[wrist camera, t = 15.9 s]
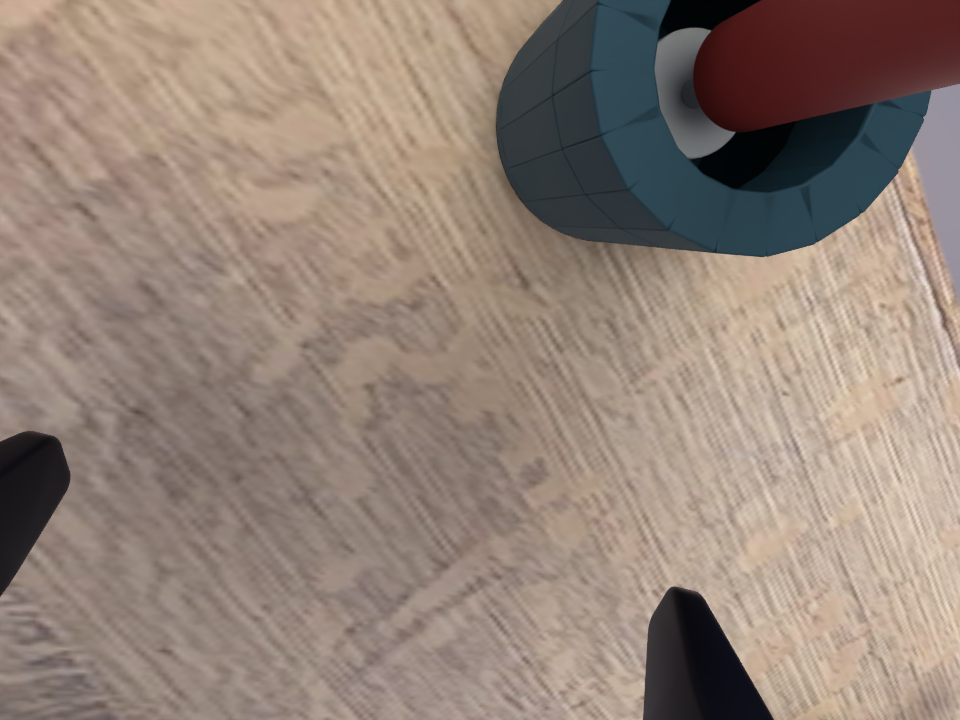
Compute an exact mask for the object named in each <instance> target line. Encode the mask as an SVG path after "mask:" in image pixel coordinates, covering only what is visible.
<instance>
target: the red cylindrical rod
mask: <svg viewBox="0 0 960 720" xmlns="http://www.w3.org/2000/svg"><path fill="white" fill-rule="evenodd" d="M654 70H655V77H656V84H657V91H658V97H659V104H660V110H661V112H662V114H663V116H664V119H665V121H666V123H667V125H668V127H669V129H670V131H671V134H672V136H673V138H674V140H675V142H676V144H677V146H678V148H679V149H680V150H681V151H682V152H683V153H684V154H685V155H686V157H687V158H688V159H689V160H690V159H695V158H701V157H704V156H707V155H710V154H711V153H713V152H715V151H717V150H718V149H720V148H721V147H723V146H724V145H725V144H726V143H727V142H728V141H729V140H730V139H731V138H732V137H733V135H734V134H735V132H749V131H754V130H758V129H763V128H767V127H772V126H776V125H780V124H785V123H789V122H794V121H798V120H802V119H807V118H811V117H816V116H820V115H824V114H829V113H833V112H838V111H842V110H846V109H851V108H855V107H859V106H864V105H868V104H873V103H877V102H881V101H886V100H890V99H895V98H899V97H903V96H908V95H912V94H917V93H921V92H925V91H930V90H934V89H939V88H943V87H947V86H951V85H956V84H960V0H761V1H759V2H757V3H756V4H754V5H752V6H750V7H748V8H746V9H745V10H743V11H741V12H739V13H737V14H736V15H734V16H732V17H730V18H728V19H727V20H725V21H723V22H722V23H720V24H719V25H717V26H716V27H715V28H714V29H713V30H712V31H711V30H707V29H704V28H684V29H680V30H677V31H674V32H672V33H670V34H668V35H666V36H664V37H663V38H661V39H659V40H658V44H657V52H656V60H655V67H654Z"/></svg>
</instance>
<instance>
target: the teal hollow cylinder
mask: <svg viewBox="0 0 960 720" xmlns="http://www.w3.org/2000/svg"><path fill="white" fill-rule="evenodd" d="M759 1H761V0H563V1H562V2H561V3H560V4H559V5H558V6H557V7H556V9H555V10H554V11H553V12H552V13H551V14H550V15H549V16H548V17H547V19H546V20H545V21H544V22H543V23H542V24H541V25H540V27H539V28H538V29H537V30H536V31H535V33H534V34H533V35H532V36H531V37H530V38H529V40H528V41H527V42H526V43H525V45H524V46H523V47H522V48H521V50H520V51H519V52H518V54H517V56H516V57H515V59H514V61H513V62H512V64H511V66H510V68H509V70H508V73H507V75H506V77H505V79H504V83H503V86H502V89H501V92H500V97H499V102H498V108H497V122H496V130H497V143H498V148H499V153H500V158H501V161H502V164H503V167H504V170H505V173H506V175H507V177H508V179H509V181H510V183H511V186H512V187H513V189H514V190H515V192H516V194H517V195H518V197H519V198H520V200H521V201H522V202H523V203H524V204H525V206H526V207H527V208H528V209H529V210H530V211H531V212H532V213H533V214H534V215H535V216H536V217H538V218H539V219H540V220H541V221H543V222H544V223H545V224H547V225H548V226H550V227H551V228H553V229H555V230H557V231H559V232H561V233H563V234H566V235H569V236H572V237H575V238H578V239H582V240H586V241H596V242H607V243H617V244H627V245H638V246H648V247H658V248H668V249H679V250H689V251H699V252H710V253H721V254H732V255H744V256H756V257H765V256H767V257H768V256H772V255H776V254H780V253H783V252H787V251H791V250H795V249H799V248H802V247H806V246H810V245H813V244H815V243H816V242H819V241H820V240H822V239H823V238H825V237H826V236H828V235H830V234H831V233H833V232H834V231H836V230H837V229H839V228H840V227H842V226H844V225H845V224H847V223H848V222H850V221H851V220H853V219H855V218H856V217H858V216H859V215H860V213H863V212H864V211H865V210H866V209H867V208H868V207H869V206H870V205H871V203H872V202H873V201H874V200H875V199H876V198H877V197H878V195H879V194H880V193H881V192H882V191H883V190H884V189H885V187H886V186H887V185H888V184H889V183H890V182H891V180H892V179H893V178H894V177H895V176H896V175H897V174H898V169H899V168H900V167H901V166H902V164H903V162H904V160H905V158H906V156H907V154H908V152H909V150H910V148H911V146H912V144H913V142H914V139H915V137H916V136H917V134H918V132H919V129H920V127H921V126H922V124H923V121H924V119H923V117H924V116H925V115H926V113H927V109H928V104H929V99H930V95H931V90H930V91H925V92H921V93H917V94H912V95H908V96H903V97H899V98H895V99H890V100H886V101H881V102H877V103H873V104H868V105H864V106H859V107H855V108H851V109H846V110H842V111H838V112H833V113H829V114H824V115H820V116H816V117H811V118H807V119H802V120H798V121H794V122H789V123H785V124H780V125H776V126H772V127H767V128H763V129H758V130H754V131H749V132H735V134H734V135H733V137H732V138H731V139H730V140H729V141H728V142H727V143H726V144H725V145H724V146H723V147H721V148H720V149H718V150H717V151H715V152H713V153H711V154H710V155H707V156H704V157H701V158H695V159H690V160H689V159H688V158H687V157H686V155H685V154H684V153H683V152H682V151H681V150H680V149H679V148H678V146H677V144H676V142H675V140H674V138H673V136H672V134H671V131H670V129H669V127H668V125H667V123H666V121H665V119H664V116H663V114H662V112H661V110H660V104H659V97H658V91H657V84H656V77H655V70H654V67H655V60H656V52H657V44H658V40H659V39H661V38H663V37H664V36H666V35H668V34H670V33H672V32H674V31H677V30H680V29H684V28H704V29H707V30H711V31H712V30H713V29H714V28H715V27H716V26H717V25H719V24H720V23H722V22H723V21H725V20H727V19H728V18H730V17H732V16H734V15H736V14H737V13H739V12H741V11H743V10H745V9H746V8H748V7H750V6H752V5H754V4H756V3H757V2H759Z"/></svg>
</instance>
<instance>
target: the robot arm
mask: <svg viewBox="0 0 960 720" xmlns="http://www.w3.org/2000/svg"><path fill="white" fill-rule="evenodd" d="M69 483H70V471H69V467H68V464H67V461H66V458H65V455H64V452H63V449H62V445H61V443H60V441H59V440H58V439H57V438H56V437H54V436H51V435H47V434H43V433H39V432H35V431H26V432H22V433H19V434H17V435H14V436H12V437H10V438H8V439H5V440H3V441H1V442H0V596H1V595H2V594H3V592H4V591H5V589H6V588H7V587H8V585H9V584H10V582H11V581H12V579H13V578H14V576H15V575H16V573H17V572H18V570H19V569H20V567H21V565H22V564H23V562H24V560H25V559H26V557H27V555H28V554H29V552H30V550H31V549H32V547H33V546H34V544H35V542H36V541H37V539H38V537H39V536H40V534H41V532H42V531H43V529H44V527H45V526H46V524H47V523H48V521H49V519H50V518H51V516H52V514H53V513H54V511H55V509H56V508H57V506H58V504H59V503H60V501H61V500H62V498H63V496H64V495H65V493H66V491H67V489H68V486H69ZM643 720H774V719H773V717H772V715H771V714H770V712H769V710H768V708H767V707H766V705H765V703H764V701H763V700H762V698H761V696H760V694H759V693H758V691H757V689H756V688H755V686H754V684H753V682H752V681H751V679H750V677H749V675H748V674H747V672H746V670H745V668H744V667H743V665H742V663H741V662H740V660H739V658H738V656H737V655H736V653H735V651H734V649H733V648H732V646H731V644H730V642H729V641H728V639H727V637H726V636H725V634H724V632H723V630H722V629H721V627H720V625H719V623H718V622H717V620H716V618H715V616H714V615H713V613H712V611H711V610H710V608H709V606H708V604H707V603H706V601H705V599H704V598H703V597H702V595H701V594H699V593H698V592H696V591H692V590H688V589H684V588H679V587H671V588H669V589H668V591H667V592H666V594H665V595H664V597H663V599H662V600H661V602H660V604H659V605H658V607H657V609H656V610H655V612H654V614H653V615H652V617H651V620H650V624H649V629H648V641H647V659H646V677H645V695H644V713H643Z"/></svg>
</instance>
